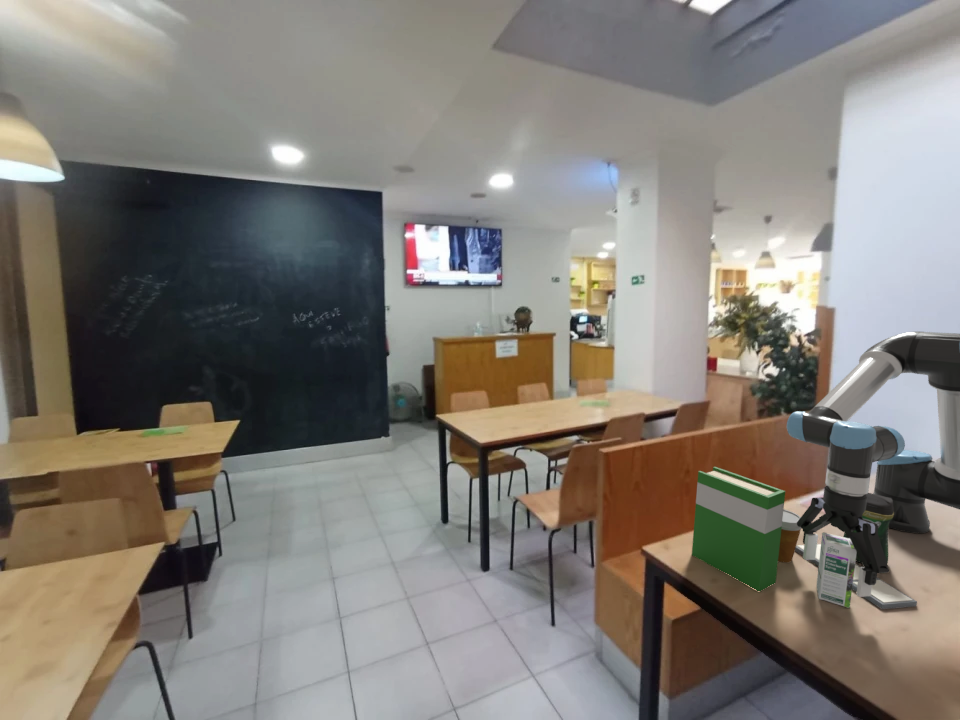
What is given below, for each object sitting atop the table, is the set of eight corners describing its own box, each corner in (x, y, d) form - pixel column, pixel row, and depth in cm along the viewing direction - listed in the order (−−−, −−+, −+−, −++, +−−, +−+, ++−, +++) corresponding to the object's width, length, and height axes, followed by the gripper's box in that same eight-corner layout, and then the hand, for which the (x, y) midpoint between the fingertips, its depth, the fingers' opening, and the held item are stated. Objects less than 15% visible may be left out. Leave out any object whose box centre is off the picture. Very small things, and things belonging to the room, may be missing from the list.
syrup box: (818, 599, 101) (825, 541, 99) (815, 585, 105) (822, 530, 104) (849, 609, 97) (857, 549, 96) (845, 594, 102) (853, 537, 100)
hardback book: (691, 554, 118) (698, 471, 115) (708, 547, 122) (715, 466, 119) (758, 592, 103) (768, 497, 100) (775, 583, 106) (785, 491, 103)
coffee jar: (888, 560, 116) (897, 495, 114) (885, 572, 111) (895, 504, 108) (842, 545, 123) (850, 484, 121) (837, 556, 118) (845, 492, 115)
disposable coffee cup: (759, 560, 116) (763, 518, 114) (755, 543, 124) (759, 503, 123) (802, 570, 112) (807, 527, 110) (796, 552, 120) (800, 511, 118)
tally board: (821, 547, 122) (822, 543, 122) (916, 606, 99) (917, 600, 98) (793, 549, 121) (793, 544, 121) (882, 609, 97) (882, 603, 97)
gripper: (785, 469, 110) (777, 547, 112) (889, 517, 85) (875, 615, 88) (812, 468, 111) (802, 545, 113) (921, 515, 86) (906, 612, 89)
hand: (834, 576), depth 101 cm, fingers open, 13 cm apart
